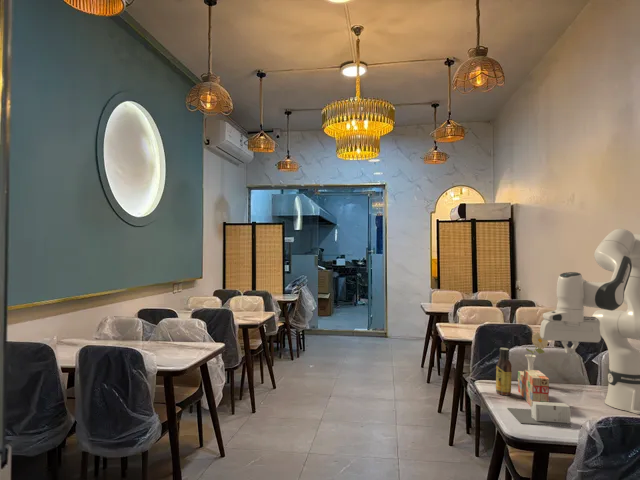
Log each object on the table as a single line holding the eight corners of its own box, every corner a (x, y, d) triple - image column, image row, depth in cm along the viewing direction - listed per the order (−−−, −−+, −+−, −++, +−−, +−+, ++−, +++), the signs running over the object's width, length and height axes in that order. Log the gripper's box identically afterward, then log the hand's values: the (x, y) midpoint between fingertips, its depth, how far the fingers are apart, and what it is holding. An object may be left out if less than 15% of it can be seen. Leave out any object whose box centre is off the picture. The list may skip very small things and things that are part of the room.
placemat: (552, 411, 165) (552, 410, 165) (571, 427, 150) (571, 425, 150) (507, 408, 167) (507, 407, 167) (521, 423, 152) (521, 422, 152)
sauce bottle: (494, 390, 189) (494, 346, 190) (509, 392, 188) (509, 347, 189) (497, 395, 183) (498, 349, 184) (513, 396, 182) (513, 350, 183)
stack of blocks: (517, 391, 190) (517, 364, 190) (532, 392, 189) (532, 365, 189) (532, 408, 169) (532, 377, 169) (549, 409, 168) (549, 378, 168)
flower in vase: (520, 387, 196) (521, 333, 197) (514, 380, 207) (515, 329, 208) (551, 390, 193) (551, 335, 194) (543, 382, 204) (544, 330, 205)
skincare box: (571, 423, 152) (536, 422, 153) (564, 419, 156) (531, 417, 157) (570, 406, 152) (536, 404, 153) (564, 402, 157) (530, 400, 158)
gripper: (595, 315, 159) (595, 352, 159) (538, 313, 162) (538, 349, 161) (604, 318, 153) (604, 356, 153) (545, 316, 156) (545, 353, 155)
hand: (569, 353), depth 157 cm, fingers closed
